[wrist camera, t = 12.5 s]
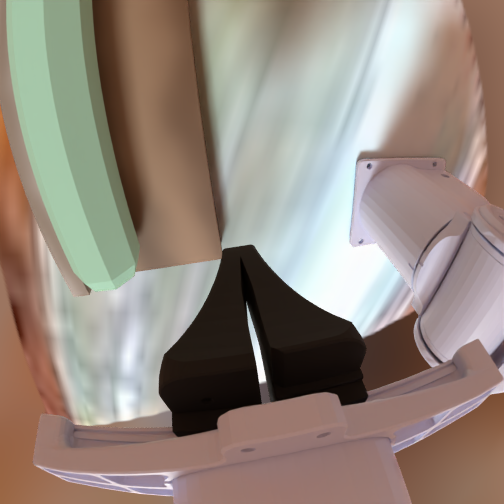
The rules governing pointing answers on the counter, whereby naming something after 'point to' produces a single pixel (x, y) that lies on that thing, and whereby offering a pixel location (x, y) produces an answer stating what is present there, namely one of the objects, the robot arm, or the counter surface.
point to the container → (70, 137)
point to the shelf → (140, 133)
